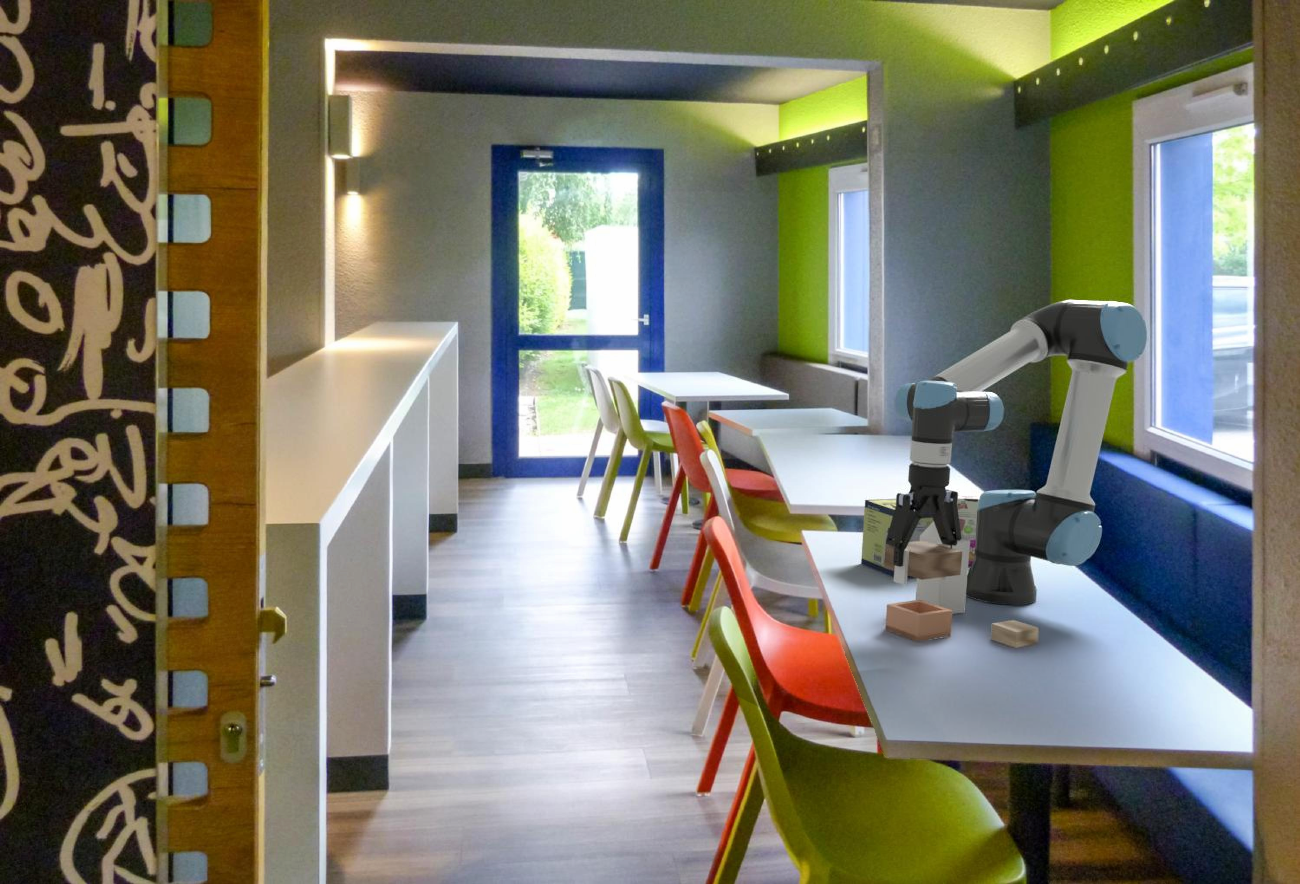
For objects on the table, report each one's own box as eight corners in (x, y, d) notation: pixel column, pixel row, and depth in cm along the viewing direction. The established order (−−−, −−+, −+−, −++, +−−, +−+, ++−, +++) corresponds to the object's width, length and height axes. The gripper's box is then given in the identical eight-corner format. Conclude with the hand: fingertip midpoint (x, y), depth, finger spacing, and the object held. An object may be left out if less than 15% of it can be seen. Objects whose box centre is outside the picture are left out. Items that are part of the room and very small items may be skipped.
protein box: (896, 561, 293) (900, 497, 291) (936, 577, 279) (941, 509, 277) (859, 564, 289) (863, 499, 287) (898, 579, 275) (902, 511, 273)
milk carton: (937, 616, 245) (944, 523, 243) (914, 607, 252) (920, 516, 249) (964, 613, 249) (971, 521, 246) (941, 604, 255) (948, 514, 252)
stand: (1012, 635, 234) (1013, 619, 234) (1037, 643, 229) (1038, 628, 229) (990, 639, 231) (991, 623, 231) (1015, 647, 226) (1016, 632, 226)
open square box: (917, 624, 239) (919, 599, 238) (950, 636, 232) (952, 610, 231) (885, 629, 235) (887, 604, 234) (917, 641, 227) (919, 615, 227)
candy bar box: (978, 563, 295) (983, 496, 292) (980, 568, 290) (986, 499, 288) (931, 559, 296) (935, 493, 294) (932, 564, 292) (937, 496, 289)
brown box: (921, 563, 238) (923, 540, 238) (960, 574, 230) (962, 551, 229) (883, 567, 233) (885, 544, 232) (921, 579, 225) (923, 555, 224)
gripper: (899, 469, 220) (890, 590, 223) (987, 464, 232) (977, 579, 235) (870, 463, 226) (862, 581, 229) (957, 458, 238) (948, 570, 241)
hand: (920, 580), depth 232 cm, fingers closed on brown box, 10 cm apart
